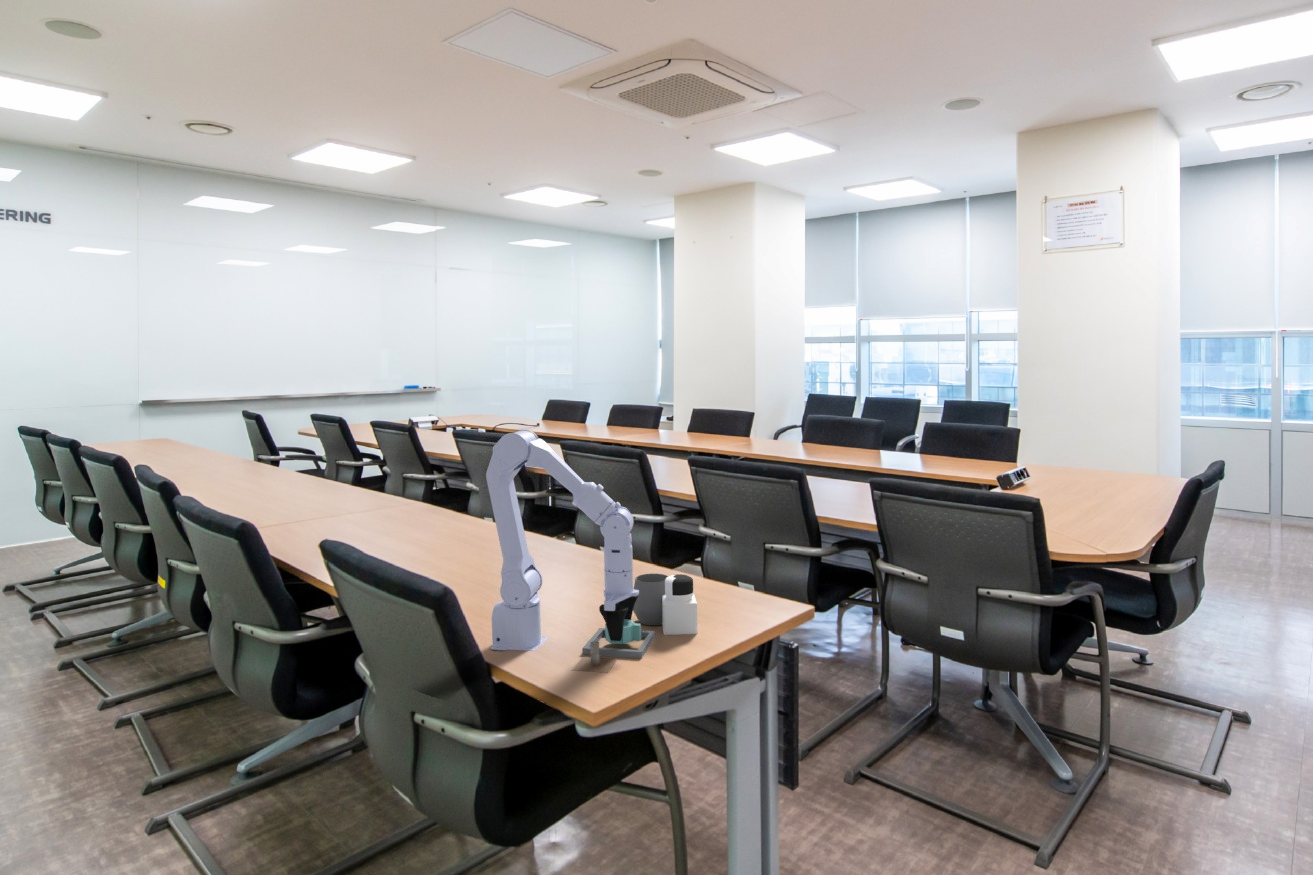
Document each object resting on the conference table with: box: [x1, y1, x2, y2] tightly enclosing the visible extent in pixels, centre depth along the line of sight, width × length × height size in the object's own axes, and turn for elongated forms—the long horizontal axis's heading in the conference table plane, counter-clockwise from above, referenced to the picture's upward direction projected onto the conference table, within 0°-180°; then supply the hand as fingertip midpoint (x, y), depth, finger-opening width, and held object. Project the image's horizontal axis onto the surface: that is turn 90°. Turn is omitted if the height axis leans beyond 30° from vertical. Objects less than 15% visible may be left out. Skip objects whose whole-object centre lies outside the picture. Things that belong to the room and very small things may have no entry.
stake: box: [571, 641, 618, 674], centre depth 144 cm, size 7×7×5 cm
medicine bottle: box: [661, 574, 698, 636], centre depth 163 cm, size 7×7×12 cm
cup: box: [633, 572, 670, 626], centre depth 170 cm, size 10×9×10 cm
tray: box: [581, 627, 656, 659], centre depth 154 cm, size 12×12×2 cm
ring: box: [604, 619, 642, 645], centre depth 154 cm, size 7×6×3 cm
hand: (619, 634), depth 154 cm, fingers closed on ring, 6 cm apart
